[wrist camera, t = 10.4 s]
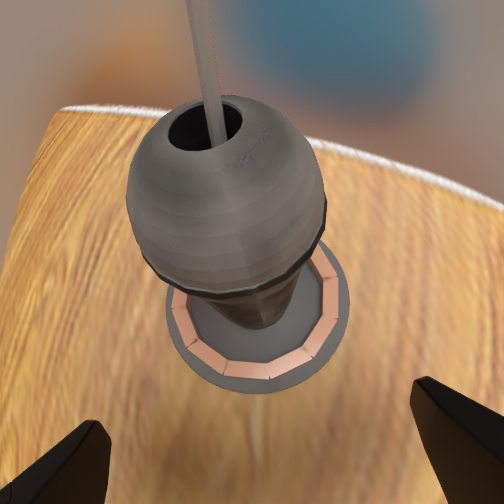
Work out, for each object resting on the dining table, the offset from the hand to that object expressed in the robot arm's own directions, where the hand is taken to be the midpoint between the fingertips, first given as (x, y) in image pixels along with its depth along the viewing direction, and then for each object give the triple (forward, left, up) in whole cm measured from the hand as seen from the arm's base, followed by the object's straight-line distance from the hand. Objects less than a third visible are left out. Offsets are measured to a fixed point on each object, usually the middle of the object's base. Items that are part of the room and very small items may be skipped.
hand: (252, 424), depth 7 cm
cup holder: (+7, +2, -13) cm, 15 cm away
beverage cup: (+7, +2, -13) cm, 15 cm away
